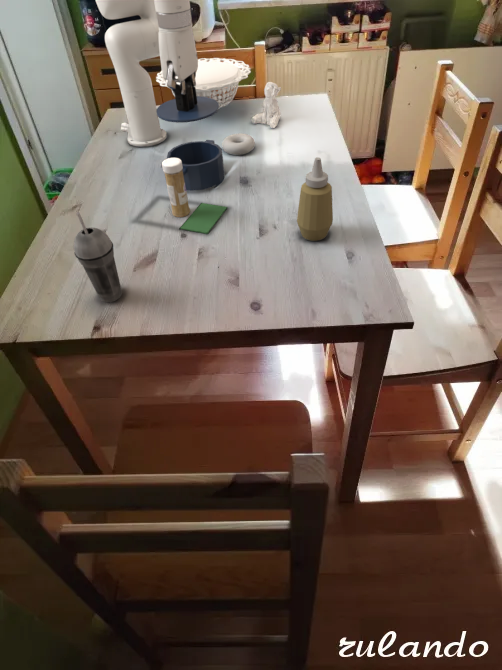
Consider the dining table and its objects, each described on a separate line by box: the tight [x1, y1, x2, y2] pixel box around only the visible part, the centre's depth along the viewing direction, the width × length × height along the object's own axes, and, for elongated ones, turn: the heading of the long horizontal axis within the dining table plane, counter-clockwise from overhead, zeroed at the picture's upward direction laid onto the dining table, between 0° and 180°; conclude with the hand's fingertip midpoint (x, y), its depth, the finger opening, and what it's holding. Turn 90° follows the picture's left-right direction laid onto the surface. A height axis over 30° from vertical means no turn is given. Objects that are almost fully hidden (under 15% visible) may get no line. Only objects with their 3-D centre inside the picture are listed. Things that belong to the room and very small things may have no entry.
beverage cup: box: [73, 211, 123, 303], centre depth 88 cm, size 7×7×20 cm
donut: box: [221, 132, 256, 156], centre depth 138 cm, size 10×4×10 cm
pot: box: [166, 139, 226, 192], centre depth 125 cm, size 15×20×7 cm
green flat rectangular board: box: [178, 202, 228, 235], centre depth 115 cm, size 20×12×1 cm, turn 69°
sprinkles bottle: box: [161, 158, 191, 218], centre depth 111 cm, size 5×5×14 cm
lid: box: [156, 83, 220, 124], centre depth 113 cm, size 16×16×6 cm
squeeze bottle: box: [296, 156, 334, 242], centre depth 100 cm, size 8×8×18 cm
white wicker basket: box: [155, 57, 252, 109], centre depth 157 cm, size 32×32×13 cm
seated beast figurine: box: [251, 81, 282, 129], centre depth 149 cm, size 10×9×12 cm
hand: (187, 106), depth 114 cm, fingers closed on lid, 3 cm apart
